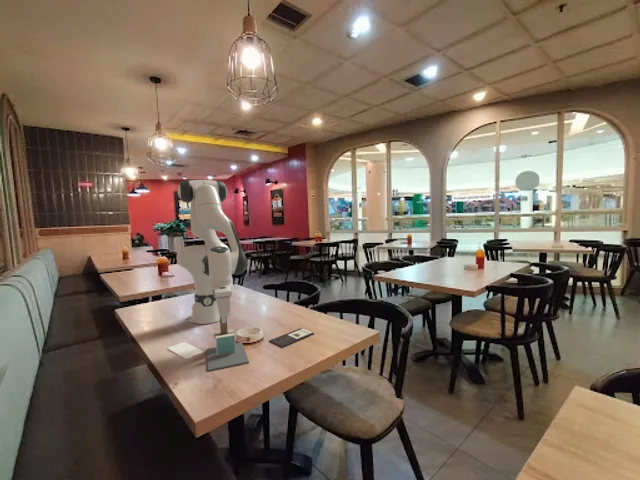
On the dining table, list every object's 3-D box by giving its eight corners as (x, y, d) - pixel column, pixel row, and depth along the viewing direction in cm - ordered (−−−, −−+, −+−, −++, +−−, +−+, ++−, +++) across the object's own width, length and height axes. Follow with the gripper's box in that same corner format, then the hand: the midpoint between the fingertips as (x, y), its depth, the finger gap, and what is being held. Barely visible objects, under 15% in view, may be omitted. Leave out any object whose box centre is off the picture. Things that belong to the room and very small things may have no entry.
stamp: (213, 335, 123) (212, 311, 122) (233, 332, 126) (232, 308, 125) (214, 339, 119) (212, 314, 118) (234, 335, 122) (233, 311, 121)
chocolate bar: (269, 340, 128) (300, 328, 141) (269, 342, 128) (300, 330, 141) (282, 346, 122) (314, 333, 134) (282, 349, 122) (314, 335, 134)
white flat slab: (185, 358, 114) (167, 348, 123) (185, 360, 114) (167, 349, 123) (203, 351, 120) (184, 341, 129) (203, 353, 120) (184, 343, 129)
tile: (216, 353, 116) (215, 336, 116) (235, 350, 119) (234, 333, 118) (216, 355, 115) (215, 338, 114) (235, 352, 117) (234, 334, 117)
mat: (206, 349, 121) (206, 348, 121) (242, 343, 127) (242, 342, 127) (208, 371, 105) (208, 369, 105) (248, 362, 110) (248, 361, 110)
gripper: (212, 283, 129) (213, 314, 130) (214, 294, 110) (216, 331, 112) (227, 281, 132) (229, 312, 133) (232, 292, 113) (234, 328, 114)
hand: (223, 320), depth 122 cm, fingers closed on stamp, 2 cm apart
